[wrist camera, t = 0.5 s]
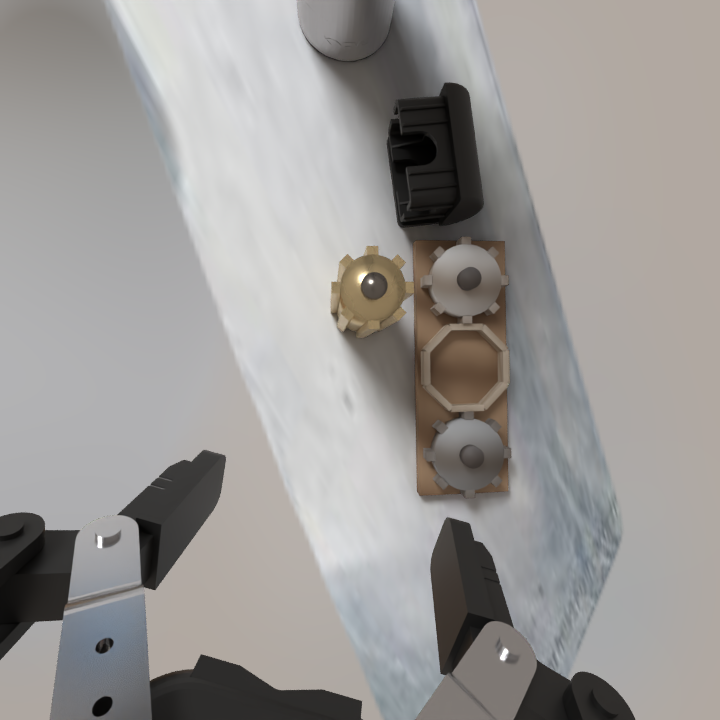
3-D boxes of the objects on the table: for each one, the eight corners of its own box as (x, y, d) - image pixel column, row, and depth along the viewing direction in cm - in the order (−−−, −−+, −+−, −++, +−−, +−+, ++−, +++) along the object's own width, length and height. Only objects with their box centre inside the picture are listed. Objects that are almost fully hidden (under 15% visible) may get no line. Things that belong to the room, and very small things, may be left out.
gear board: (413, 244, 37) (422, 231, 34) (499, 244, 38) (517, 232, 34) (416, 491, 37) (426, 505, 34) (502, 487, 38) (521, 500, 34)
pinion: (330, 279, 37) (331, 242, 25) (388, 279, 37) (415, 242, 25) (331, 338, 37) (332, 328, 25) (389, 337, 37) (417, 327, 25)
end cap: (466, 225, 38) (496, 197, 31) (398, 233, 37) (414, 205, 31) (453, 128, 38) (480, 78, 31) (385, 134, 37) (397, 84, 30)
